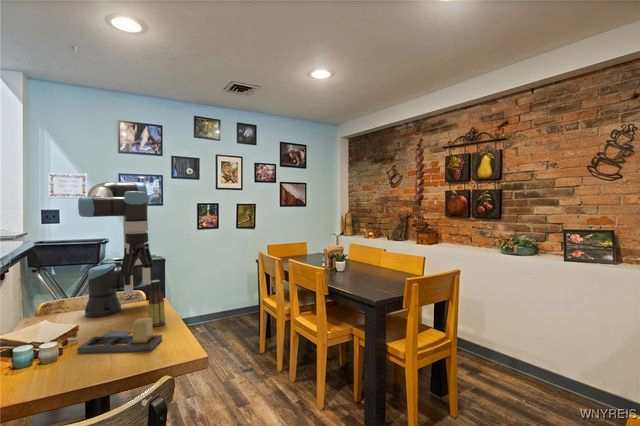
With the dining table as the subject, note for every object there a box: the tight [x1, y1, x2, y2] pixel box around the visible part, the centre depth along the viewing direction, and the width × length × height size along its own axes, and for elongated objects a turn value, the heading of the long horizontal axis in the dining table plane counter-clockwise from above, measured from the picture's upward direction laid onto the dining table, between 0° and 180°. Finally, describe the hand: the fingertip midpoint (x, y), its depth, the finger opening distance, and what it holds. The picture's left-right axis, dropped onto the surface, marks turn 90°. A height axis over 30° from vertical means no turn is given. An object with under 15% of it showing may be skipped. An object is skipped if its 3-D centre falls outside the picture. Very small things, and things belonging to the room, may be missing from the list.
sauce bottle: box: [148, 279, 166, 328], centre depth 150 cm, size 7×6×20 cm
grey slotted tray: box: [76, 334, 163, 354], centre depth 128 cm, size 10×26×2 cm, turn 93°
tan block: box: [132, 317, 154, 345], centre depth 128 cm, size 5×5×10 cm
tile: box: [100, 329, 132, 337], centre depth 138 cm, size 9×9×1 cm
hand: (138, 288), depth 127 cm, fingers open, 13 cm apart
